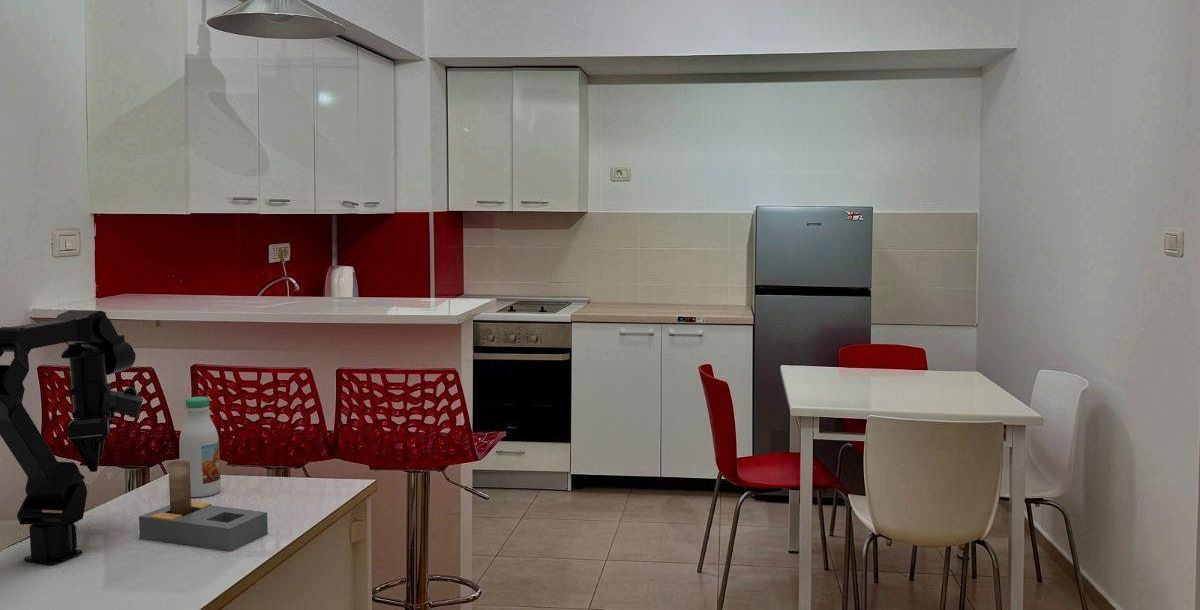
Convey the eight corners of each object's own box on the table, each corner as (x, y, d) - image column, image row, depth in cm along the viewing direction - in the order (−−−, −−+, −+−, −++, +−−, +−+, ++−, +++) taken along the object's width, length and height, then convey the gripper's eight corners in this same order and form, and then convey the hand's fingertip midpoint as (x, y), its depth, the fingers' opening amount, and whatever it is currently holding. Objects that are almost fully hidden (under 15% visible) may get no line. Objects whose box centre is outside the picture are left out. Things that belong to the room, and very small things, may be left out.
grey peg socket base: (267, 533, 187) (267, 510, 186) (230, 551, 178) (229, 527, 177) (180, 521, 194) (179, 499, 193) (139, 538, 184) (138, 514, 184)
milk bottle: (188, 500, 208) (185, 403, 206) (175, 492, 213) (171, 397, 211) (226, 493, 213) (223, 398, 211) (212, 485, 218) (209, 393, 216)
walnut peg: (182, 537, 185) (179, 466, 184) (166, 534, 186) (163, 464, 185) (196, 531, 188) (194, 461, 187) (181, 528, 190) (178, 460, 188)
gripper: (135, 384, 177) (142, 472, 179) (140, 368, 195) (147, 449, 196) (63, 390, 173) (71, 480, 175) (75, 373, 190) (82, 456, 192)
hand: (96, 465), depth 185 cm, fingers open, 9 cm apart
